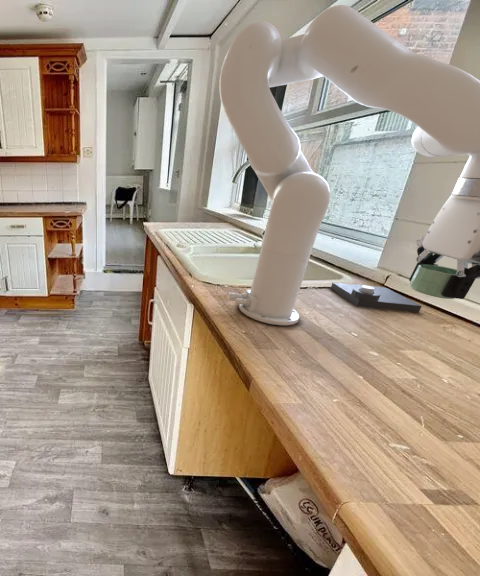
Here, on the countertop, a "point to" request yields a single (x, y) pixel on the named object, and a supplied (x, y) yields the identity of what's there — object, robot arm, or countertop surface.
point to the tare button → (367, 289)
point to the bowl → (431, 279)
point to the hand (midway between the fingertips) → (434, 288)
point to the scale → (375, 298)
